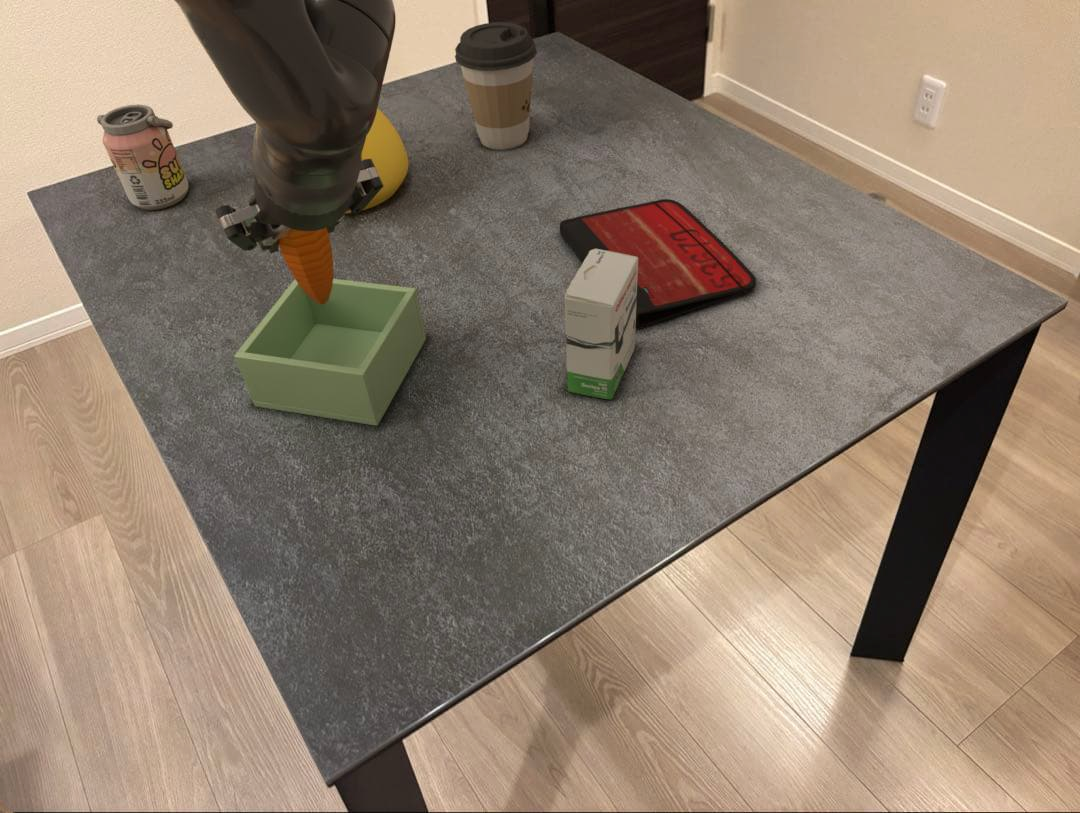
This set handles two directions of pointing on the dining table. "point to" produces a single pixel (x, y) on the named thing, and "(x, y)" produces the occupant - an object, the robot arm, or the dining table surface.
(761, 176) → the dining table surface
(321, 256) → the carrot
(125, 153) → the beverage can
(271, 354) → the bin
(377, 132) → the teapot
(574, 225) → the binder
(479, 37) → the coffee cup
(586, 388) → the ink box
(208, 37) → the robot arm
